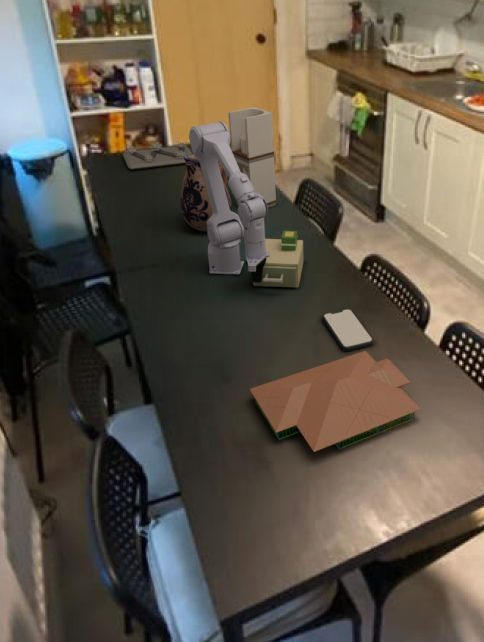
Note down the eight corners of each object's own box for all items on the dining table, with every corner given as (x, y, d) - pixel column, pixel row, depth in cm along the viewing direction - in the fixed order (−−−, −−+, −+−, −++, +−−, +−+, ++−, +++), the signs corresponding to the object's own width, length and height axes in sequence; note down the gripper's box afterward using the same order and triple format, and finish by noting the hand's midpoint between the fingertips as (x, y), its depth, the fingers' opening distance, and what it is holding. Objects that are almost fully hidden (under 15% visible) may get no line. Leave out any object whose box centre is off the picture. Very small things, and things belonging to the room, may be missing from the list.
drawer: (294, 294, 163) (293, 275, 160) (252, 292, 163) (250, 274, 160) (300, 263, 179) (300, 245, 175) (262, 261, 179) (261, 244, 175)
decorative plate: (129, 172, 245) (126, 156, 241) (122, 156, 261) (119, 141, 257) (198, 163, 256) (196, 148, 252) (187, 149, 272) (185, 134, 268)
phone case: (375, 345, 145) (350, 312, 157) (375, 341, 144) (350, 307, 156) (343, 353, 142) (320, 318, 154) (343, 348, 141) (320, 314, 154)
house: (429, 415, 124) (433, 388, 120) (293, 471, 110) (292, 442, 106) (374, 357, 141) (376, 331, 136) (250, 399, 127) (248, 372, 123)
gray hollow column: (259, 197, 225) (254, 107, 206) (276, 205, 219) (272, 113, 199) (235, 204, 218) (228, 112, 199) (252, 213, 212) (246, 118, 193)
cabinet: (298, 287, 168) (298, 264, 164) (253, 285, 168) (251, 262, 164) (303, 262, 181) (303, 240, 176) (261, 260, 181) (260, 238, 177)
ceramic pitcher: (173, 231, 197) (162, 162, 184) (206, 209, 214) (199, 144, 200) (216, 241, 192) (208, 170, 178) (247, 217, 208) (242, 151, 195)
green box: (295, 252, 170) (295, 239, 167) (281, 251, 170) (280, 238, 167) (297, 241, 175) (297, 229, 173) (283, 241, 176) (283, 228, 173)
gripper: (265, 251, 151) (267, 294, 159) (272, 228, 163) (274, 269, 171) (239, 250, 151) (242, 293, 159) (248, 227, 163) (251, 268, 171)
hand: (257, 281), depth 165 cm, fingers closed, pressing on drawer
